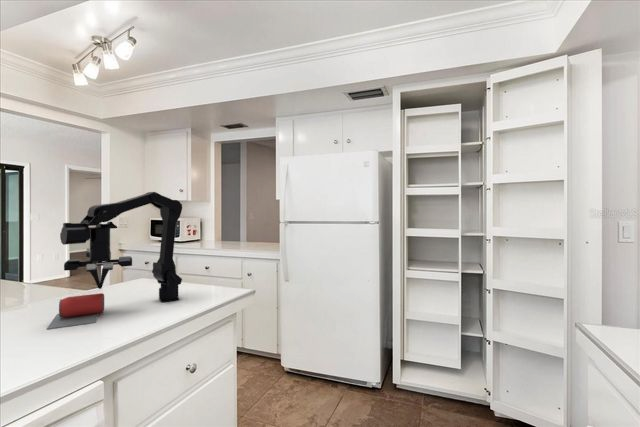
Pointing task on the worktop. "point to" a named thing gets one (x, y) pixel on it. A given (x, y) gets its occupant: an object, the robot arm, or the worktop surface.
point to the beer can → (81, 305)
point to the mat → (72, 321)
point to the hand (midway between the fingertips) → (100, 288)
